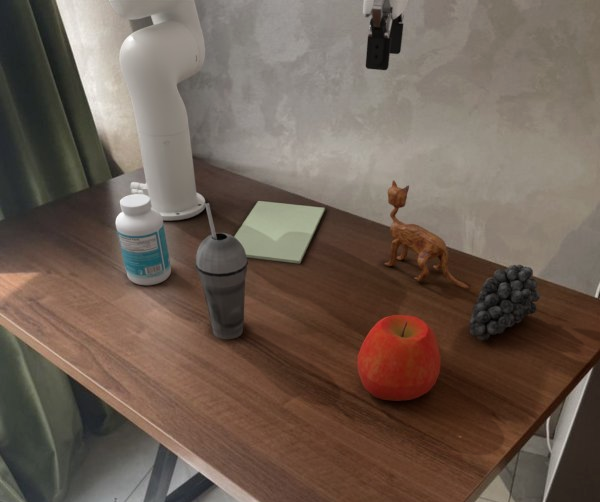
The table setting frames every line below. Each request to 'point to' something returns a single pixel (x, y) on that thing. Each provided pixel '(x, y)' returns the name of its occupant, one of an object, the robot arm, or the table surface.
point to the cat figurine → (416, 239)
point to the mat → (279, 231)
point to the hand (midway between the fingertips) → (383, 60)
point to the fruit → (504, 301)
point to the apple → (399, 359)
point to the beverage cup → (223, 281)
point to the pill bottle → (142, 241)
